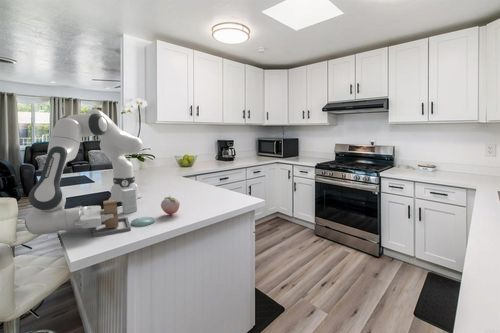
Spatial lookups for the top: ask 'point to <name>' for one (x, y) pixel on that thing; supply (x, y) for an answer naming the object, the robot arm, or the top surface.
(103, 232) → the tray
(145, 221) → the teal round disc
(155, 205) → the top surface
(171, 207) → the decorative fruit
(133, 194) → the skincare box
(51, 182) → the robot arm
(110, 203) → the walnut block
